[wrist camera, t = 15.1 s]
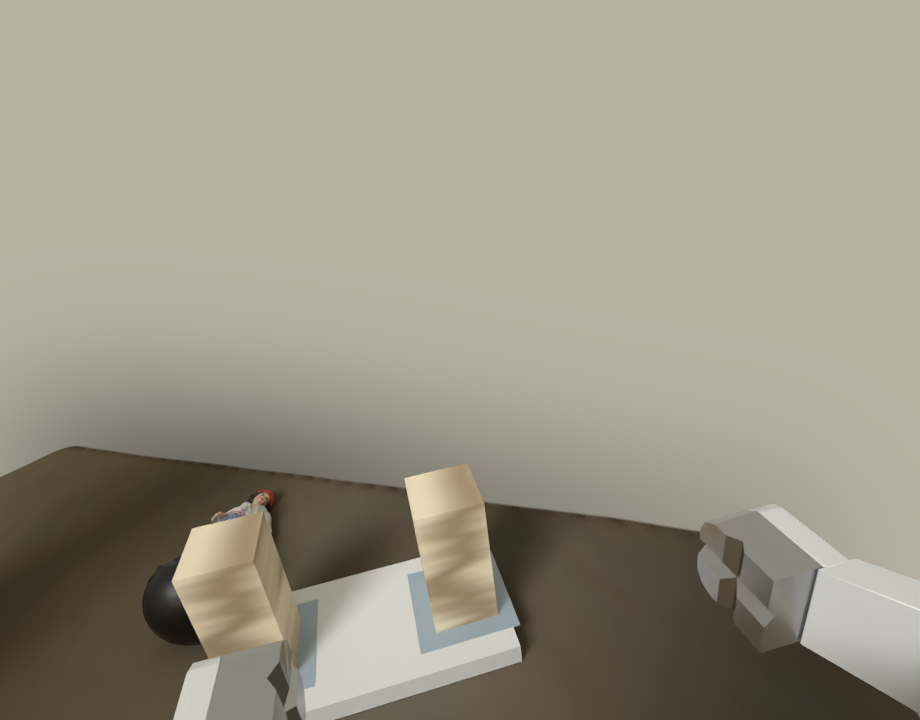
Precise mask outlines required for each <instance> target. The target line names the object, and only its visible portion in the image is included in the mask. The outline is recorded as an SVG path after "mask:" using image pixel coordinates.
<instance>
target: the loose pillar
mask: <svg viewBox="0 0 920 720" xmlns="http://www.w3.org/2000/svg"><path fill="white" fill-rule="evenodd" d="M405 483H406V489H407V494H408V499H409V504H410V509H411V513H412V518H413V523H414V528H415V533H416V538H417V543H418V548H419V553H420V558H421V563H422V568H423V573H424V578H425V583H426V587H427V592H428V597H429V601H430V606H431V611H432V615H433V620H434V625H435V630H436V633H439V632H442V631H446V630H449V629H453V628H456V627H459V626H463V625H466V624H470V623H473V622H476V621H480V620H483V619H486V618H490V617H493V616H497V615H498V609H497V601H496V594H495V586H494V578H493V570H492V562H491V554H490V546H489V538H488V530H487V523H486V515H485V507H484V502H483V499H482V497H481V495H480V493H479V490H478V488H477V486H476V483H475V481H474V479H473V476H472V474H471V472H470V469H469V467H468V465H467V463H466V464H462V465H457V466H454V467H449V468H445V469H441V470H437V471H433V472H429V473H424V474H420V475H416V476H412V477H408V478H405Z"/></svg>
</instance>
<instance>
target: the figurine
mask: <svg viewBox="0 0 920 720" xmlns="http://www.w3.org/2000/svg"><path fill="white" fill-rule="evenodd" d="M273 502H274V494H273V492H271V491H269V490H260V491H258V492H256V493H254V494H252V495H251V496H250V498H249V499H248V502H244V503H242V504H241V506H238V507H235V508H233V509H231V510H230V511H228V512H227V513H223V512H219V513H217V514H215V515H214V517H213V518H212V519H211V524H213V523H217V522H222V521H226V520H230V519H234V518H238V517H243V516H247V515H251V514H255V513H259V512H264V515H265V518H266V520H267V523H268V526H269V529H270V532H271V533H272V529H271V520H272V518H271V514H270V513H269V512H268V511H269V510H270V509H271V508H272V506H273ZM180 559H181V556H180V557H177V558H176V559H174V560H173V561H172V562H170V563H168V564H166V565H164V566H162V565H161V566H158V567H157V570H156V572H155V573H154V574H153V575H152V576H151V578H150V579H149V581H148V583H147V586H146V588H145V591H144V595H143V601H142V607H143V614H144V618H145V620H146V622H147V624H148V626H149V628H150V629H151V630H152V631H153V632H154V633H155V634H156V635H157V636H158V637H160V638H161V639H163V640H165V641H167V642H170V643H173V644H177V645H196V644H200V643H201V642H200V640H199V638H198V636H197V634H196V632H195V629H194V627H193V625H192V623H191V621H190V619H189V617H188V615H187V613H186V611H185V609H184V607H183V605H182V602H181V600H180V598H179V596H178V594H177V592H176V590H175V588H174V586H173V584H172V579H173V577H174V574H175V572H176V569H177V566H178V564H179V561H180Z"/></svg>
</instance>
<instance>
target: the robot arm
mask: <svg viewBox="0 0 920 720" xmlns="http://www.w3.org/2000/svg"><path fill="white" fill-rule="evenodd" d="M700 539H701V540H702V541H703V542H704V543H705V546H704V547H703V548H702V550H701V551H700V552H699V554H698V561H697V569H698V572H699V575H700V578H701V581H702V583H703V585H704V587H705V588H706V590H707V592H708V593H709V594H710V595H711V597H712V598H713V599H714V600H715V602H716V603H718V604H720V605H722V606H724V607H726V608H728V609H730V610H732V616H733V623H734V624H735V625H736V626H737V627H738V629H739V630H740V631H741V632H742V633H743V634H744V635H745V637H746V638H747V639H748V640H749V641H750V642H751V644H752V645H753V646H754V647H755V648H756V649H757V651H758V652H759V653H761V652H765V651H768V650H772V649H775V648H778V647H782V646H785V645H788V644H792V643H795V642H799V641H801V643H800V644H802V645H803V646H805V647H807V648H808V649H810V650H812V651H814V652H815V653H817V654H819V655H820V656H822V657H824V658H825V659H827V660H829V661H831V662H832V663H834V664H836V665H837V666H839V667H841V668H843V669H844V670H846V671H848V672H849V673H851V674H853V675H854V676H856V677H858V678H860V679H861V680H863V681H865V682H866V683H868V684H870V685H872V686H873V687H875V688H877V689H878V690H880V691H882V692H883V693H885V694H887V695H889V696H890V697H892V698H894V699H895V700H897V701H899V702H900V703H902V704H904V705H906V706H907V707H909V708H911V709H912V710H914V711H916V712H918V713H919V714H920V581H918V580H915V579H913V578H910V577H907V576H904V575H901V574H899V573H895V572H893V571H890V570H887V569H885V568H882V567H879V566H876V565H873V564H870V563H868V562H865V561H862V560H860V559H857V558H855V559H851V560H848V559H847V558H846V557H844V556H843V555H842V554H841V553H839V552H838V551H837V550H835V549H834V548H833V547H832V546H830V545H829V544H828V543H826V542H825V541H824V540H823V539H821V538H820V537H819V536H818V535H816V534H815V533H814V532H812V531H811V530H810V529H809V528H807V527H806V526H805V525H804V524H802V523H801V522H800V521H798V520H797V519H796V518H795V517H793V516H792V515H791V514H790V513H788V512H787V511H786V510H784V509H783V508H782V507H780V506H778V505H775V504H769V505H765V506H762V507H758V508H754V509H751V510H749V511H742V512H739V513H736V514H732V515H729V516H725V517H722V518H719V519H715V520H712V521H708V522H705V523H704V525H703V526H702V527H701V532H700ZM291 663H292V650H291V648H290V646H289V643H288V641H287V640H281V641H277V642H273V643H269V644H265V645H261V646H257V647H253V648H249V649H245V650H241V651H237V652H233V653H229V654H225V655H222V656H218V657H214V658H210V659H207V660H203V661H199V662H195V663H193V664H192V666H191V667H190V669H189V671H188V672H187V674H186V677H185V681H184V684H183V687H182V691H181V694H180V698H179V701H178V705H177V708H176V712H175V715H174V719H173V720H306V706H305V692H304V687H303V682H302V678H301V675H300V672H299V670H298V669H296V668H294V667H292V666H291Z"/></svg>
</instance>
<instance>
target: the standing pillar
mask: <svg viewBox="0 0 920 720" xmlns="http://www.w3.org/2000/svg"><path fill="white" fill-rule="evenodd" d="M172 584H173V586H174V588H175V590H176V592H177V594H178V596H179V598H180V600H181V602H182V605H183V607H184V609H185V611H186V613H187V615H188V617H189V619H190V621H191V623H192V625H193V627H194V629H195V632H196V634H197V636H198V638H199V640H200V642H201V644H202V646H203V648H204V650H205V652H206V654H207V656H208V658H209V659H210V658H214V657H218V656H222V655H225V654H229V653H233V652H237V651H241V650H245V649H249V648H253V647H257V646H261V645H265V644H269V643H273V642H277V641H281V640H287V641H288V643H289V646H290V648H291V650H292V663H291V666H292V667H294V668H296V669H297V658H298V645H299V632H300V618H301V617H300V614H299V611H298V608H297V605H296V603H295V600H294V597H293V594H292V591H291V588H290V586H289V583H288V580H287V577H286V574H285V571H284V569H283V566H282V563H281V560H280V557H279V554H278V552H277V549H276V546H275V543H274V540H273V537H272V535H271V532H270V529H269V526H268V523H267V520H266V518H265V515H264V512H259V513H255V514H251V515H247V516H243V517H238V518H234V519H230V520H226V521H222V522H217V523H213V524H209V525H205V526H201V527H197V528H192V530H191V533H190V535H189V538H188V540H187V543H186V546H185V548H184V551H183V553H182V556H181V559H180V561H179V564H178V566H177V569H176V572H175V574H174V577H173V579H172Z"/></svg>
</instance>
